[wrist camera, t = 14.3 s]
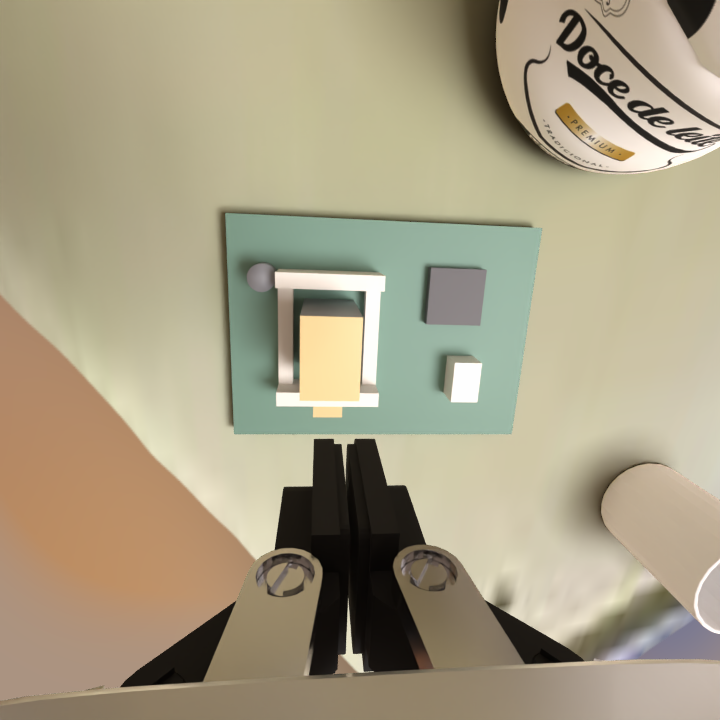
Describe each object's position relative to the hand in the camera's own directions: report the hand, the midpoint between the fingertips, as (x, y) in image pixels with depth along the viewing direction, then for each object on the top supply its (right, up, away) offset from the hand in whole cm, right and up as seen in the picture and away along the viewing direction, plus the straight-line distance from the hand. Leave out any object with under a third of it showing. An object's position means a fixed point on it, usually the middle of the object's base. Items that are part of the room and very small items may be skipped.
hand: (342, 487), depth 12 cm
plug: (-2, +5, +20) cm, 21 cm away
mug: (+27, -11, +29) cm, 41 cm away
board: (+2, +6, +21) cm, 22 cm away
